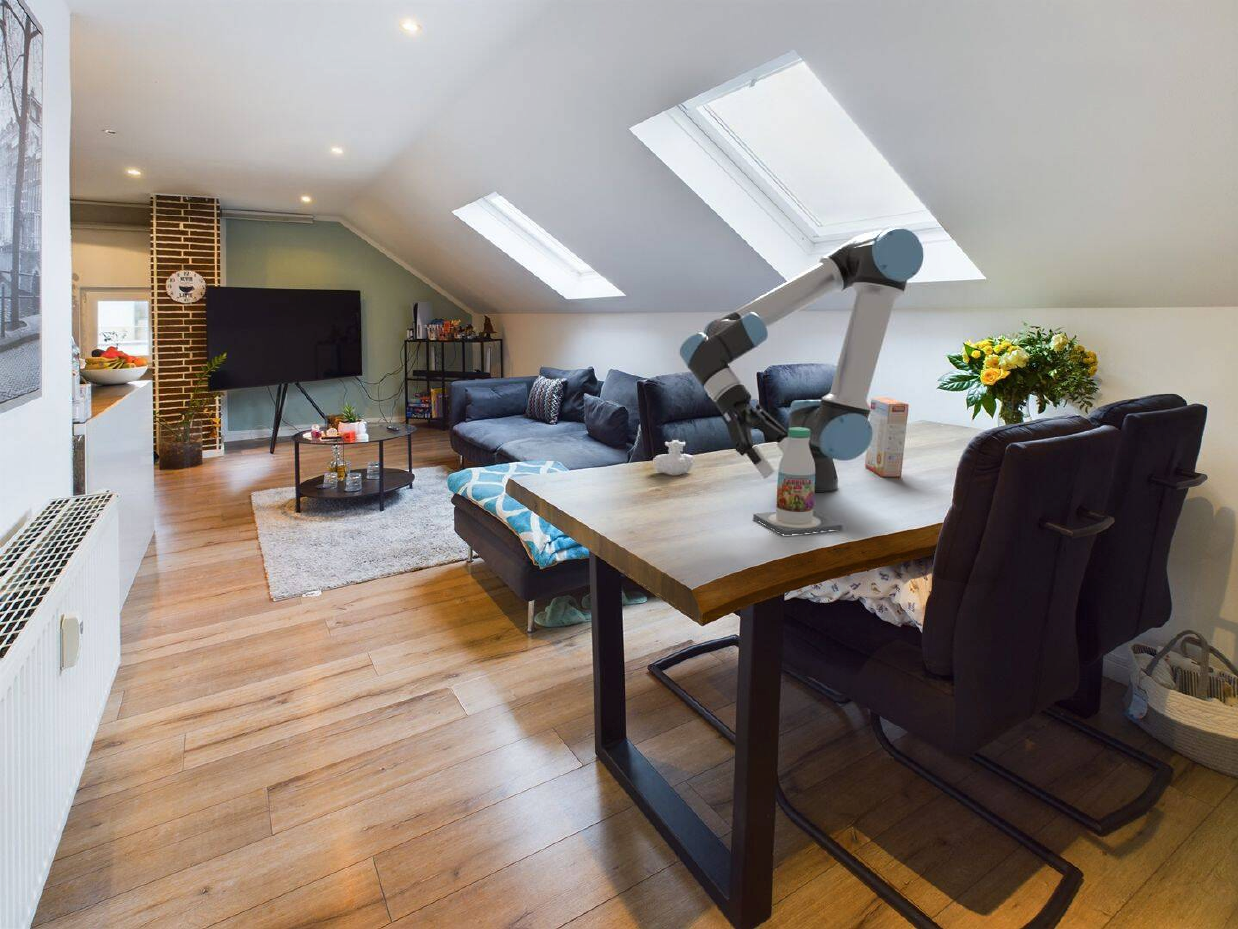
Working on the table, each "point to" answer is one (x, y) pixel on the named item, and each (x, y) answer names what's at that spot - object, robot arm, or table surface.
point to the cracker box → (887, 436)
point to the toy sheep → (674, 460)
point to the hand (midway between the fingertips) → (785, 469)
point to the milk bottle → (796, 479)
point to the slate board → (815, 525)
